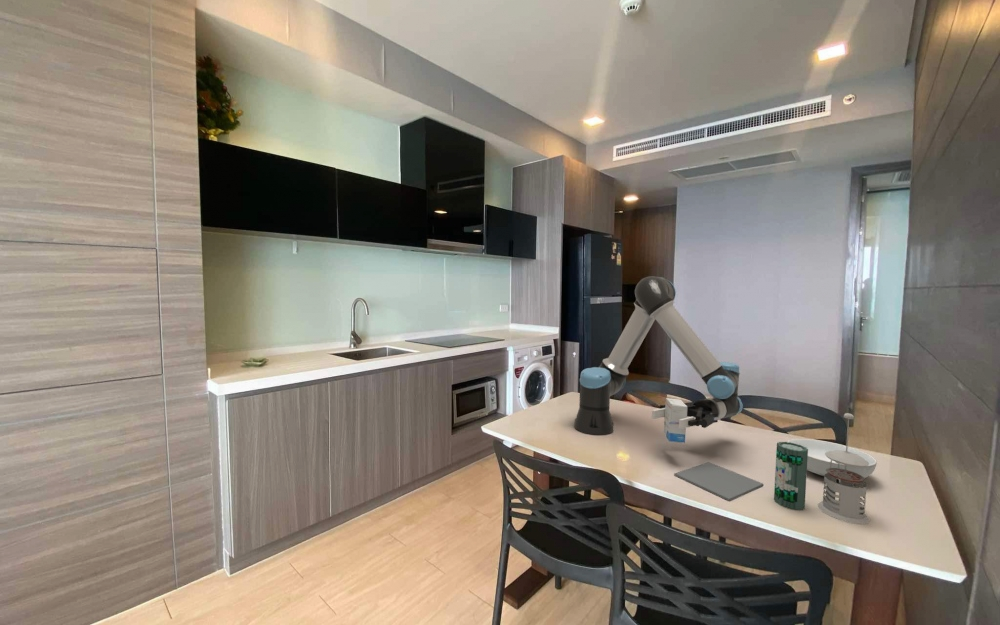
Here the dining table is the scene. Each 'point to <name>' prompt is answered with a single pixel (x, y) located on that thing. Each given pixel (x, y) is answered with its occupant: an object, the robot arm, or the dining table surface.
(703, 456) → the dining table surface
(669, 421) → the ink box
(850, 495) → the french press
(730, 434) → the dining table surface
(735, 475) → the rubber mat
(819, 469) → the serving bowl
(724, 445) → the dining table surface
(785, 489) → the can
